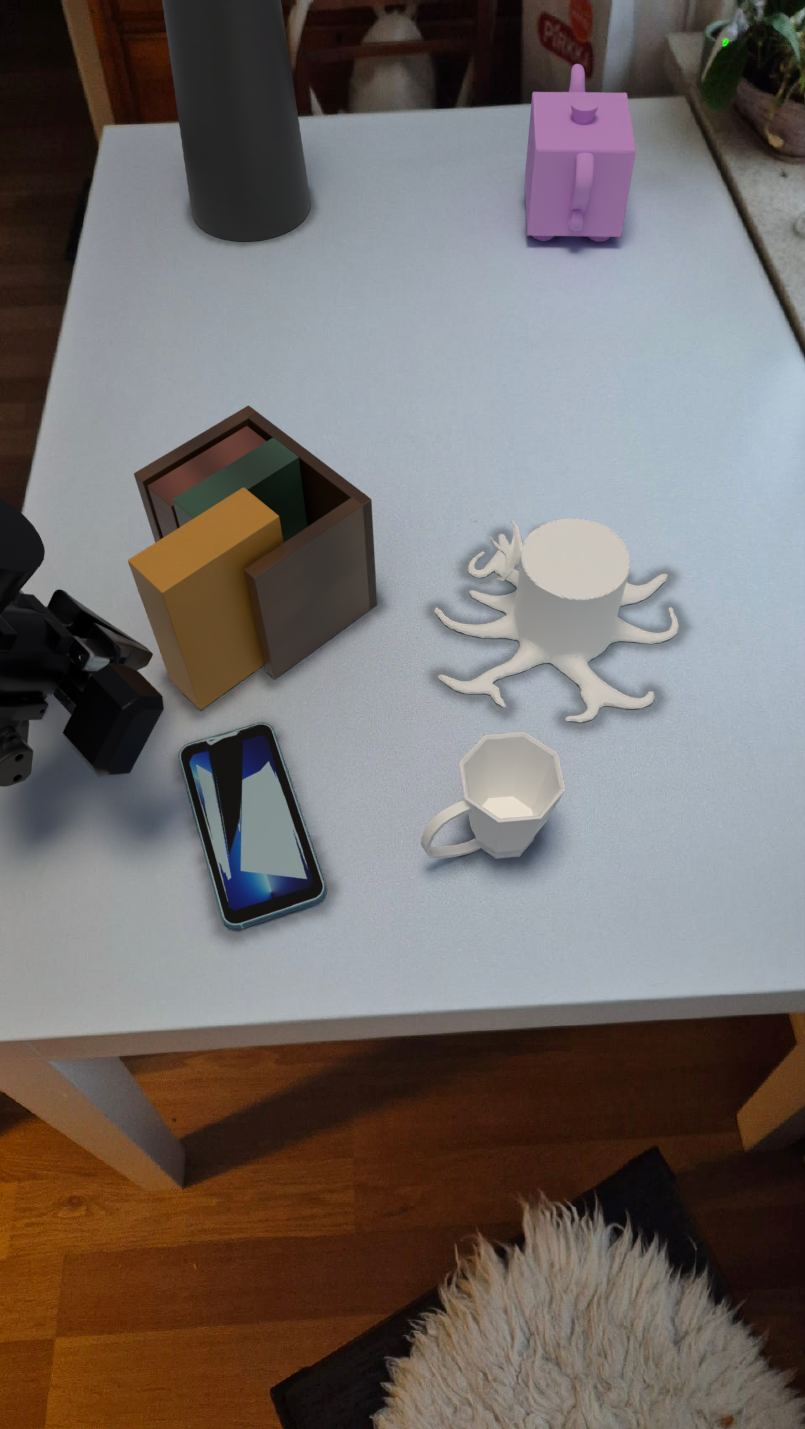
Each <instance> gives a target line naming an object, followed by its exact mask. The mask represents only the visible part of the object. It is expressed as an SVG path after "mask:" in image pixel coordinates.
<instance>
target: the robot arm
mask: <svg viewBox="0 0 805 1429" xmlns="http://www.w3.org/2000/svg"><path fill="white" fill-rule="evenodd" d="M45 552H46V550H45V545H44V542H43V540H42V537H41V535H40V534H39V531H38V530H37V529H36V527H35V526H34V525H33V523H32V522H31V521H30V520H29V519H28V518H27V516H25V515H24V514H23V513H22V512H21V511H19V509H17V508H16V507H15V506H14V505H12V504H11V503H9V502H7V501H6V500H5V499H3V498H1V497H0V787H3V788H6V787H10V786H13V785H16V784H18V783H21V782H25V781H26V780H27V779H28V778H29V777H30V776H31V774H32V768H33V758H34V750H33V749H32V747H31V746H30V745H29V744H28V742H29V733H30V732H29V731H30V721H42V720H43V718H44V716H45V714H46V712H47V710H48V708H49V703H48V702H47V700H46V699H47V697H48V695H52V696H53V697H54V698H55V699H56V700H57V701H58V702H59V703H60V705H61V706H62V707H63V708H64V709H65V710H66V711H67V712H68V713H69V714H70V716H69V718H68V720H67V723H66V725H65V726H64V728H63V731H62V734H63V737H64V738H65V740H66V741H67V743H68V745H69V746H70V747H71V748H72V749H73V751H74V752H76V754H77V755H78V756H79V757H80V758H81V759H82V760H83V761H84V763H85V764H86V765H87V766H88V767H89V768H90V769H91V771H92V772H93V773H94V774H96V775H95V776H96V777H98V778H102V777H110V776H121V775H128V774H131V772H132V770H133V768H134V766H135V764H136V763H137V760H138V759H139V757H140V756H141V753H142V751H143V750H144V747H145V745H146V743H147V742H148V740H149V738H150V736H151V734H152V733H153V730H154V728H155V727H156V725H157V724H158V721H159V719H160V717H161V715H162V714H163V712H164V710H165V705H164V696H163V695H162V693H160V692H159V691H158V690H157V689H156V688H155V687H154V685H152V684H151V683H150V681H149V680H148V679H146V677H144V676H143V674H142V673H141V672H140V671H139V670H142V669H143V668H146V667H148V665H149V664H150V662H151V660H152V658H153V656H154V654H153V652H152V651H151V650H150V649H149V648H148V647H147V646H145V645H144V644H142V643H141V642H139V641H138V640H136V639H135V638H133V637H131V635H129V634H127V633H125V632H124V631H123V630H121V629H120V628H118V627H116V626H115V625H113V623H111V622H109V621H108V620H106V619H104V618H103V617H101V616H100V615H99V614H97V613H96V612H94V611H93V610H92V609H90V608H88V607H87V606H86V605H84V604H82V602H79V601H78V600H77V599H75V598H74V597H72V595H70V594H69V593H68V592H67V591H66V590H64V589H56V590H54V591H53V593H52V595H51V597H50V600H49V602H48V604H47V605H46V606H45V604H43V603H42V602H41V601H40V599H38V597H37V596H36V595H35V594H33V593H32V594H31V593H24V591H23V590H22V589H23V587H24V586H25V585H26V584H27V583H28V581H29V580H30V579H31V578H32V577H33V575H34V574H35V573H36V572H37V571H38V569H39V568H40V567H41V565H42V564H43V562H44V560H45V554H46V553H45Z"/></svg>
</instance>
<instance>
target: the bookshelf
mask: <svg viewBox="0 0 805 1429" xmlns="http://www.w3.org/2000/svg"><path fill="white" fill-rule="evenodd" d="M133 477H134V479H135V483H136V486H137V488H138V492H139V495H140V498H141V501H142V505H143V508H144V511H145V515H146V517H147V521H148V524H149V527H150V530H151V533H152V537H153V539H154V543H156V542H157V541H159V540H161V539H162V538H164V537H165V536H167V535H168V534H170V533H172V532H173V531H175V530H176V529H178V528H180V527H181V526H183V525H184V524H186V523H188V522H189V521H191V520H192V519H194V518H195V517H197V516H199V515H200V514H202V513H203V512H205V511H207V510H208V509H210V508H211V507H213V506H214V505H216V504H218V503H219V502H221V501H222V500H224V499H226V498H227V497H229V496H230V495H232V494H234V493H235V492H237V491H238V490H240V489H241V488H243V487H244V488H245V489H247V490H248V491H249V492H250V493H252V494H253V495H254V496H255V497H256V498H258V499H259V500H260V501H261V502H263V503H264V504H265V505H266V506H267V507H269V508H270V509H271V510H272V511H274V512H275V513H276V514H277V515H278V516H279V518H280V525H281V531H282V537H283V544H281V545H280V546H278V547H277V548H275V549H274V550H272V551H271V552H269V553H268V554H266V555H265V556H263V557H262V558H260V559H259V560H257V561H256V562H254V563H253V564H251V565H250V566H248V567H247V568H245V569H244V574H245V578H246V583H247V588H248V592H249V597H250V601H251V606H252V611H253V615H254V620H255V624H256V629H257V634H258V638H259V643H260V647H261V652H262V657H263V661H264V665H263V666H264V669H265V670H264V671H265V672H266V673H267V674H268V675H269V676H271V678H273V679H274V680H276V679H277V678H279V677H280V676H281V675H283V674H284V673H285V672H287V671H288V670H290V669H291V668H293V666H295V665H297V664H298V663H299V662H301V661H302V660H303V659H305V658H306V657H307V656H309V655H310V654H312V653H313V652H315V651H316V650H317V649H318V648H319V647H322V646H323V645H324V644H325V643H327V642H328V641H329V640H331V639H332V638H334V637H335V636H336V635H338V634H339V633H340V632H342V631H343V630H344V629H346V628H347V627H349V626H350V625H351V624H352V623H354V622H355V621H356V620H358V619H359V618H361V617H362V616H364V615H365V614H367V612H369V611H370V610H372V609H373V608H375V607H376V606H377V605H378V594H377V593H378V592H377V574H376V556H375V554H376V553H375V538H374V537H375V536H374V519H373V500H372V498H371V497H370V496H368V495H367V494H365V492H363V491H361V489H359V488H358V487H356V486H355V485H353V483H351V482H350V481H348V480H347V479H346V478H345V477H343V476H342V475H341V474H339V473H338V472H337V471H336V470H334V469H332V468H331V467H330V466H329V465H327V463H326V462H324V461H322V460H321V459H320V458H318V457H317V456H316V455H315V454H313V453H312V452H311V451H309V450H308V449H306V448H305V447H304V446H303V445H301V444H300V443H299V442H298V441H296V440H295V439H293V438H292V437H291V436H290V435H288V434H287V433H286V432H284V431H283V430H282V429H281V428H279V427H278V426H277V425H276V424H274V423H273V422H271V421H270V420H268V418H266V417H265V416H264V415H262V414H261V413H260V412H258V411H257V410H256V409H255V408H253V407H252V406H250V405H246V406H245V407H243V408H241V409H239V410H238V411H236V412H235V413H233V414H231V415H230V416H228V417H226V418H224V419H222V420H221V421H219V422H218V423H216V424H214V425H213V426H211V427H209V428H208V429H206V430H205V431H203V432H201V433H199V434H197V435H196V436H194V437H193V438H191V439H189V440H187V441H185V442H184V443H182V444H181V445H179V446H178V447H175V448H174V449H173V450H170V451H169V452H168V453H165V454H164V455H162V456H161V457H159V458H157V459H155V460H154V461H152V462H150V463H149V464H147V465H145V466H143V467H142V468H140V469H138V470H137V471H135V472H134V473H133Z"/></svg>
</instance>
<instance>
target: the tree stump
mask: <svg viewBox="0 0 805 1429" xmlns="http://www.w3.org/2000/svg"><path fill="white" fill-rule="evenodd" d="M510 522H511V523H512V527H513V528H512V531H513V534H512V539H511V542H509V540H508V538H507V536H506V535H505V533H499V534H498V536H497V538H498V540H497V541H495V540H494V539H493V537H492V536H489V538H490V542H492V544H493V546H494V547H495V548H496V549H497V552H495V554H494V555H493V556H492V557H491V559H490V560H489V561H488V563H487V564H486V565H485V566H484V567H483V568H482V569H476V568H475V567H476V564H477V563H478V559H480V558H482V557H483V556H484V555H485V554H486V553H485V551H483V550H482V551H481V552H479V553H478V554H476V555H475V556H474V557H473V558H472V559H471V560H470V561H469V563H468V566H467V572H468V573H469V575H471V576H472V577H475V578H479V579H481V578H487V576H488V575H490V574H492V573H493V572H495V573H496V574H497V575H499V576H498V577H496V580H497V581H501V582H503V581H507V582H509V583H511V584H512V585H513V586H514V587H515V588H516V590H515V591H513V592H511V593H508V594H501V595H492V594H488V593H484V592H480V591H478V590H473V589H471V590H469V591H468V594H469V595H470V596H471V598H473V599H474V600H476V601H478V602H480V604H483V605H487V606H489V607H491V608H493V609H495V610H498V611H501V612H504V613H505V615H504V616H502V617H501V618H498V619H496V620H495V621H491V622H488V623H481V624H473V623H471V624H470V623H462V622H458V621H456V620H452V619H451V618H449V617H448V616H447V615H445V614H444V612H443V611H442V610H441V609H440V608H439V607H435V608H434V611H433V612H434V614H435V615H436V616H437V617H438V618H439V619H440V621H441V622H442V623H443V625H445V626H447V628H449V629H450V630H454V631H455V632H458V633H462V634H464V635H466V636H472V637H479V638H481V639H486V638H487V639H510V640H513V641H517V642H518V643H519V644H518V645H519V647H518V649H517V651H516V653H515V654H514V655H513V657H511V659H509V661H506V662H504V663H502V664H500V665H497V666H495V667H492V668H490V669H489V670H487V671H485V672H483V673H481V675H479V676H477V677H475V678H473V679H471V680H459V679H456V678H453V677H452V676H449V675H445V674H439V675H438V676H437V678H438V679H439V681H441V682H442V683H444V684H445V685H446V686H448V687H449V688H451V689H452V690H453V691H456V692H459V693H462V694H466V695H478V694H479V695H482V694H483V695H484V694H485V695H486V694H487V695H490V698H492V699H493V701H494V702H495V703H496V704H497V705H499V706H500V707H501V708H502V709H505V708H507V705H506V702H505V701H504V699H503V697H501V692H500V688H499V687H498V686H497V685H496V684H494V682H496V681H498V680H500V679H504V678H506V677H510V676H513V675H517V674H520V673H522V672H525V671H529V670H530V669H532V668H534V667H536V666H538V665H542V664H548V663H549V664H551V665H553V666H554V667H555V668H557V669H558V670H559V671H560V672H561V673H563V674H564V675H565V676H566V677H568V678H569V679H570V680H572V681H573V683H575V684H577V686H578V687H579V690H580V692H579V694H580V698H581V699H582V701H583V703H584V704H585V706H586V710H585V711H584V712H582V713H580V714H577V715H568V716H565V718H564V719H565V721H566V722H576V723H584V722H588V721H592V720H593V719H595V717H596V716H597V715H598V713H599V711H600V709H602V707H614V708H619V709H623V710H624V709H629V710H635V709H643V708H644V709H645V708H646V707H648V706H650V705H651V704H653V702H654V700H655V693H654V691H653V690H650V691H648V693H646V695H645V696H642V697H633V696H630V695H627V694H624V693H622V692H620V691H619V690H618V689H616V688H614V687H613V686H611V685H610V684H608V683H607V682H605V681H604V680H603V679H602V678H601V677H599V676H598V675H597V673H595V672H594V671H593V670H592V668H590V666H589V662H590V661H592V660H593V659H596V658H597V657H598V656H600V655H601V654H602V653H604V652H605V651H606V649H607V648H608V647H609V646H610V645H611V644H613V643H617V642H630V643H631V642H632V643H638V644H648V645H652V644H653V645H654V644H657V643H659V644H661V643H662V642H665V641H668V640H670V639H672V638H673V637H675V636H676V635H677V634H678V630H679V627H680V624H679V621H678V618H677V615H676V613H675V610H674V607H671V606H670V607H668V609H667V610H668V612H669V617H670V620H671V625H670V627H669V629H668V630H666V631H662V632H651V631H648V630H645V629H642V628H639V627H637V626H635V625H632V624H631V623H628V622H626V621H625V620H624V619H622V618H621V617H620V616H619V612H620V609H621V607H622V606H627V605H632V604H637V603H639V602H641V601H643V600H646V599H647V598H649V597H650V596H652V595H653V594H654V593H655V592H656V591H657V590H658V589H659V588H660V587H661V585H663V584H664V583H665V582H667V578H668V577H669V575H668V574H667V573H661V574H659V575H657V576H656V577H654V578H653V579H651V580H650V581H649V582H647V583H644V584H638V585H635V584H632V583H630V582H628V577H629V574H630V569H631V555H630V552H629V549H628V547H627V545H626V543H625V542H624V541H623V539H622V538H620V535H618V534H617V533H616V532H614V531H613V530H612V529H611V528H610V527H608V526H606V525H605V524H602V523H600V522H597V521H593V520H587V518H578V517H574V518H572V517H569V518H568V517H566V518H560V519H559V518H558V519H556V520H555V519H553V520H552V521H548V522H546V523H543V524H540V526H538V527H537V528H535V529H533V530H532V531H531V532H530V533H529V534H528V535H527V536H526V538H525V540H524V542H523V538H522V536H521V532H520V530H519V527H518V524H517V523H516V521H515V519H513V520H511V521H510ZM516 568H519V570H517V569H516Z"/></svg>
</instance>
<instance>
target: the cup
mask: <svg viewBox="0 0 805 1429" xmlns="http://www.w3.org/2000/svg"><path fill="white" fill-rule="evenodd" d="M459 769H460V776H461V784H462V790H463V797H464V799H462V800H460V801H457V802H455V803H453V804H451V805H450V806H447V807H445V808H444V809H443V810H442V811H440V812H438V813H437V814H436V815H435V816H434V817H433V818H432V819H431V820H430V821H429V822H428V824H427V825H425V828H424V831H423V833H422V835H421V839H420V846H421V847H422V849H423V851H424V853H425V854H426V856H428V858H430V859H436V860H437V859H438V860H440V859H448V858H454V857H461V856H465V855H468V854H472V853H474V852H477V851H478V850H481V849H482V850H483V851H484V852H485V853H487V854H489V856H491V857H493V858H494V859H495V860H498V859H509V858H519V857H521V856H522V854H523V853H524V852H525V851H526V850H527V848H528V847H529V846H530V845H531V844H532V843H533V841H534V840H535V836H536V835H537V833H538V832H539V831H540V830H541V829H542V828H543V826H544V825H545V824H546V823H547V822H548V820H549V818H550V817H551V815H552V813H553V811H554V809H555V808H556V806H557V804H558V802H559V801H560V800H561V798H562V796H563V795H564V793H565V791H566V785H565V781H564V780H565V779H564V776H563V770H562V767H561V762H560V757H559V753H558V752H557V751H555V750H553V749H552V748H550V747H549V746H547V745H546V744H544V743H542V742H541V741H539V740H538V739H536V738H535V737H533V736H532V735H530V734H529V733H527V732H526V731H517V732H516V731H515V732H505V733H495V734H484V735H483V736H482V737H481V738H480V739H479V740H478V741H477V743H475V745H474V746H473V747H472V748H471V749H470V750H469V751H468V752H467V753H466V754H465V756H464V757H463V758H461V760H459ZM466 815H468V820H469V825H470V829H471V831H472V833H473V834H474V837H475V838H473V839H470V840H469V841H465V842H461V843H458V844H457V843H456V844H452V845H444V846H432V843H433V841H434V838H435V836H436V835H437V834H438V833H439V832H440V831H441V830H442V828H443V827H445V825H447V824H448V823H449V822H452V821H454V820H455V819H458V818H461V817H463V816H466Z"/></svg>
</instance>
